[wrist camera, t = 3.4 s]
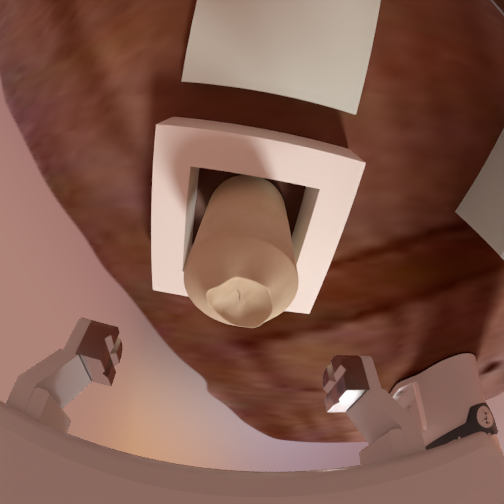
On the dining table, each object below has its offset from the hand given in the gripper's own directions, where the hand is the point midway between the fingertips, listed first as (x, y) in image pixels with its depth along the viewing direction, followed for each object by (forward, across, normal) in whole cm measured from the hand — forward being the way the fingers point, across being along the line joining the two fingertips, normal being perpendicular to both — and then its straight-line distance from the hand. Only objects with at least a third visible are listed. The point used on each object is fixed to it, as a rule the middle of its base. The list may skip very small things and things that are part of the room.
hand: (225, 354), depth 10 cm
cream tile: (+13, -1, -14) cm, 19 cm away
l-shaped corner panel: (+13, -25, -8) cm, 30 cm away
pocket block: (+13, -1, 0) cm, 13 cm away
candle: (+13, -1, 0) cm, 13 cm away
